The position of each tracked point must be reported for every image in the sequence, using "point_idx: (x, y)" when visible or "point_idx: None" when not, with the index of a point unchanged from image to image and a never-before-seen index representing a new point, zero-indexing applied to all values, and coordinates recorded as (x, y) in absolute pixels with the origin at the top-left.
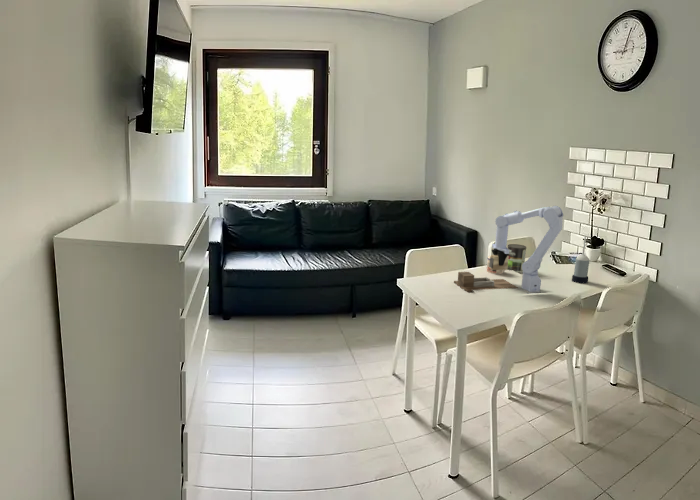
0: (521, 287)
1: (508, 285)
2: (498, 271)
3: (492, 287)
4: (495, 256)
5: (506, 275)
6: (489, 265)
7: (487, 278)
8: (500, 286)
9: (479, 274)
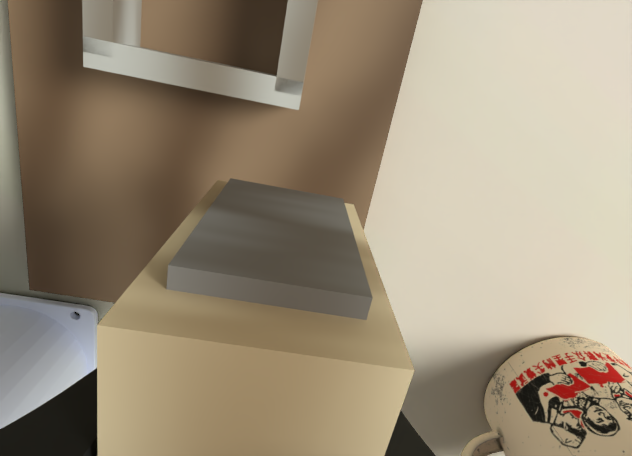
0: (32, 317)
1: (124, 250)
2: (503, 411)
3: (73, 16)
4: (163, 400)
5: (455, 438)
6: (622, 400)
7: (249, 76)
8: (100, 144)
9: (605, 254)
